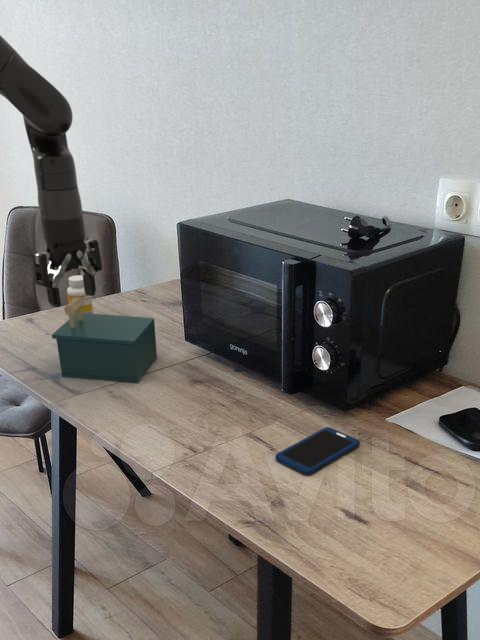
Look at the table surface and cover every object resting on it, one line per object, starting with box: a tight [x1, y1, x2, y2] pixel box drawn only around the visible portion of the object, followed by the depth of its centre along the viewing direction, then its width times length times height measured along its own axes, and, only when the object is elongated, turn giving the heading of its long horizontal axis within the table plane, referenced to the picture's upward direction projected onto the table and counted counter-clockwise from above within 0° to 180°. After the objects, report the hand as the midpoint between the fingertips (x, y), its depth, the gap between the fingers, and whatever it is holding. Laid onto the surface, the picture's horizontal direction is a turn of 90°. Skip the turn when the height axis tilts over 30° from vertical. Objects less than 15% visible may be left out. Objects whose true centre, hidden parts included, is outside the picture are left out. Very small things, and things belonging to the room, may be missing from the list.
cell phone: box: [274, 426, 361, 475], centre depth 115 cm, size 7×14×1 cm, turn 137°
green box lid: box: [51, 297, 155, 345], centre depth 137 cm, size 16×13×5 cm
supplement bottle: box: [66, 274, 95, 316], centre depth 163 cm, size 5×5×10 cm
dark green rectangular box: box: [55, 322, 158, 384], centre depth 141 cm, size 16×13×8 cm
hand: (73, 300), depth 136 cm, fingers open, 8 cm apart
